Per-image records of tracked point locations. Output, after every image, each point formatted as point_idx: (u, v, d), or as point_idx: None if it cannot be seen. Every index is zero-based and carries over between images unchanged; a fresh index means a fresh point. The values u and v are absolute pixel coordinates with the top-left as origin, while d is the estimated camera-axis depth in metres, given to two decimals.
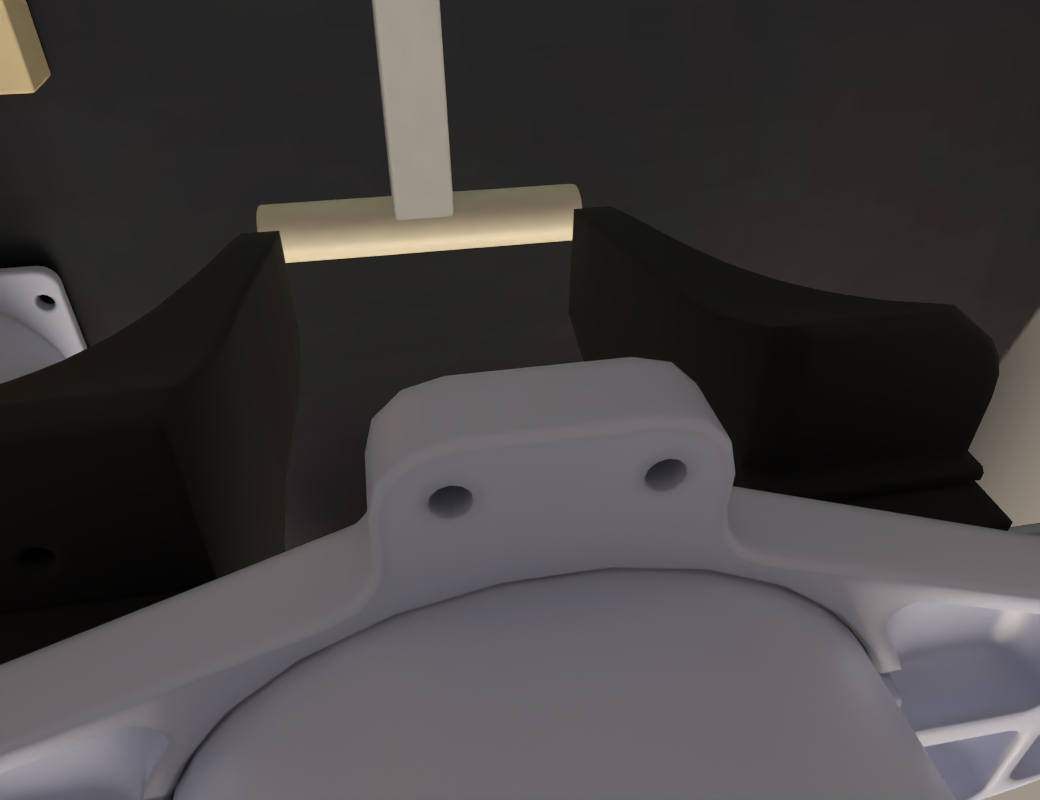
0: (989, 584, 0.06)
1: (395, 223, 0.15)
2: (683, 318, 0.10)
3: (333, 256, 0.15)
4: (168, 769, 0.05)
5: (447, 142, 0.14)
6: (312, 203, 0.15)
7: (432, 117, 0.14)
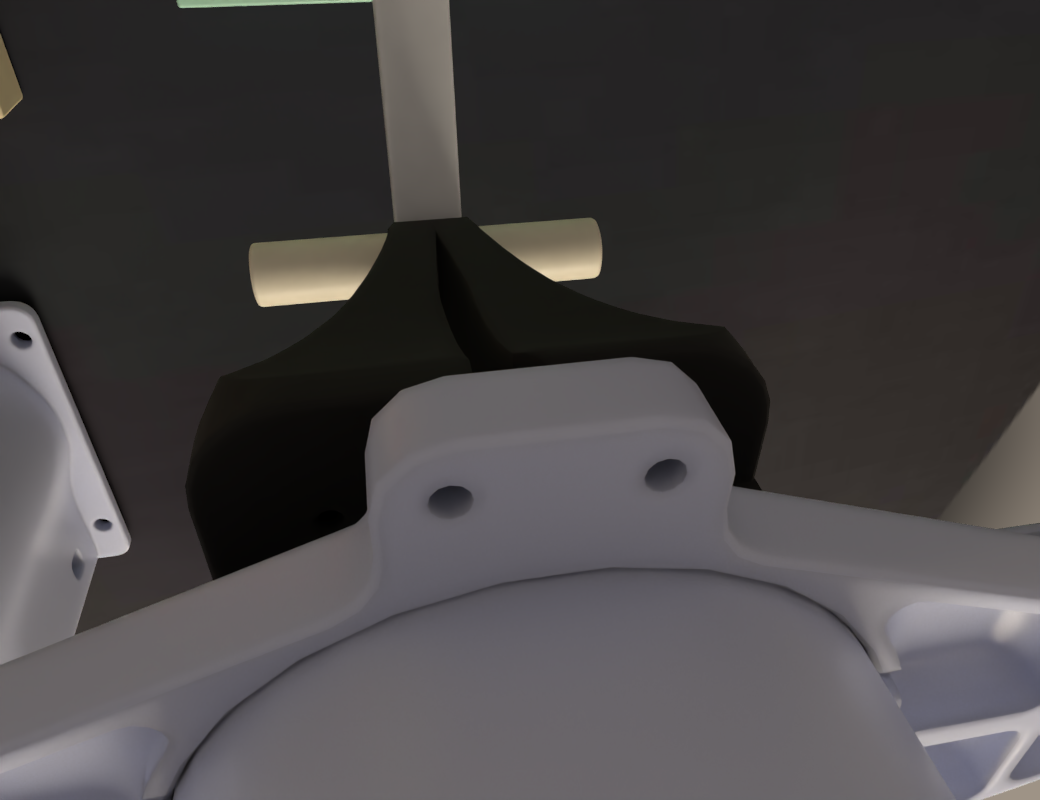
0: (989, 584, 0.06)
1: None
2: (482, 337, 0.09)
3: (332, 299, 0.14)
4: (168, 769, 0.05)
5: (457, 179, 0.13)
6: (309, 242, 0.14)
7: (441, 153, 0.13)
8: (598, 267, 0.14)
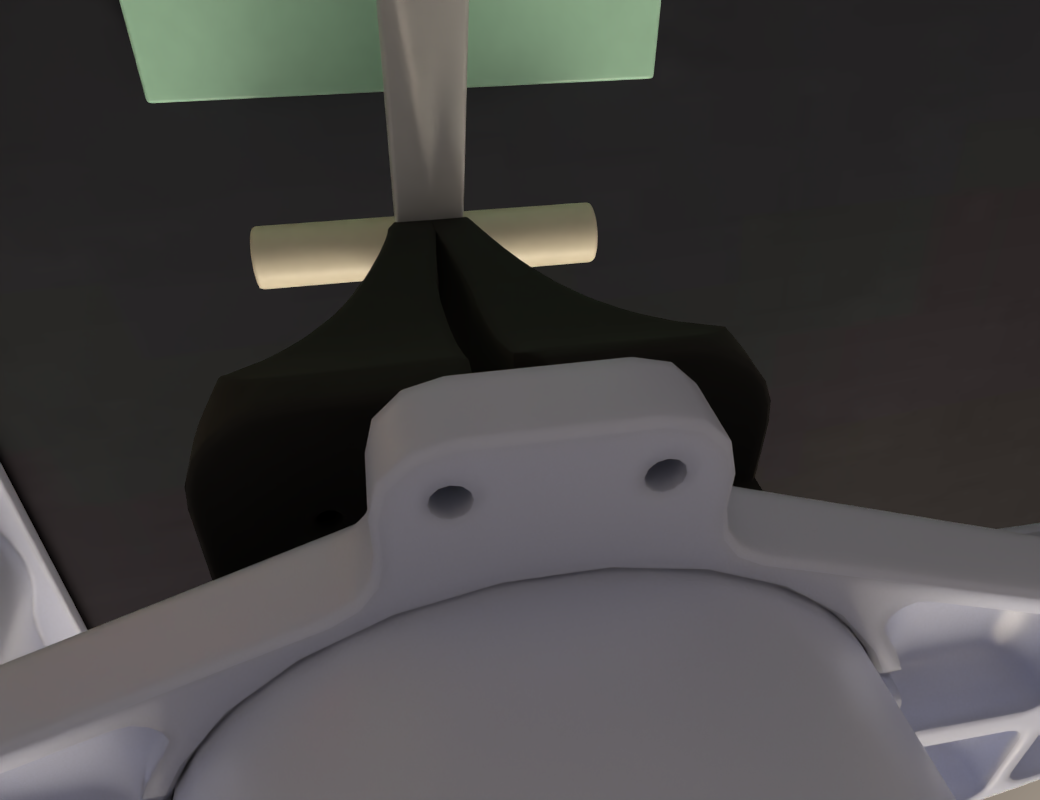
0: (989, 583, 0.06)
1: None
2: (483, 338, 0.09)
3: (333, 282, 0.14)
4: (166, 770, 0.05)
5: (462, 205, 0.13)
6: (310, 237, 0.14)
7: (447, 187, 0.12)
8: (591, 260, 0.15)
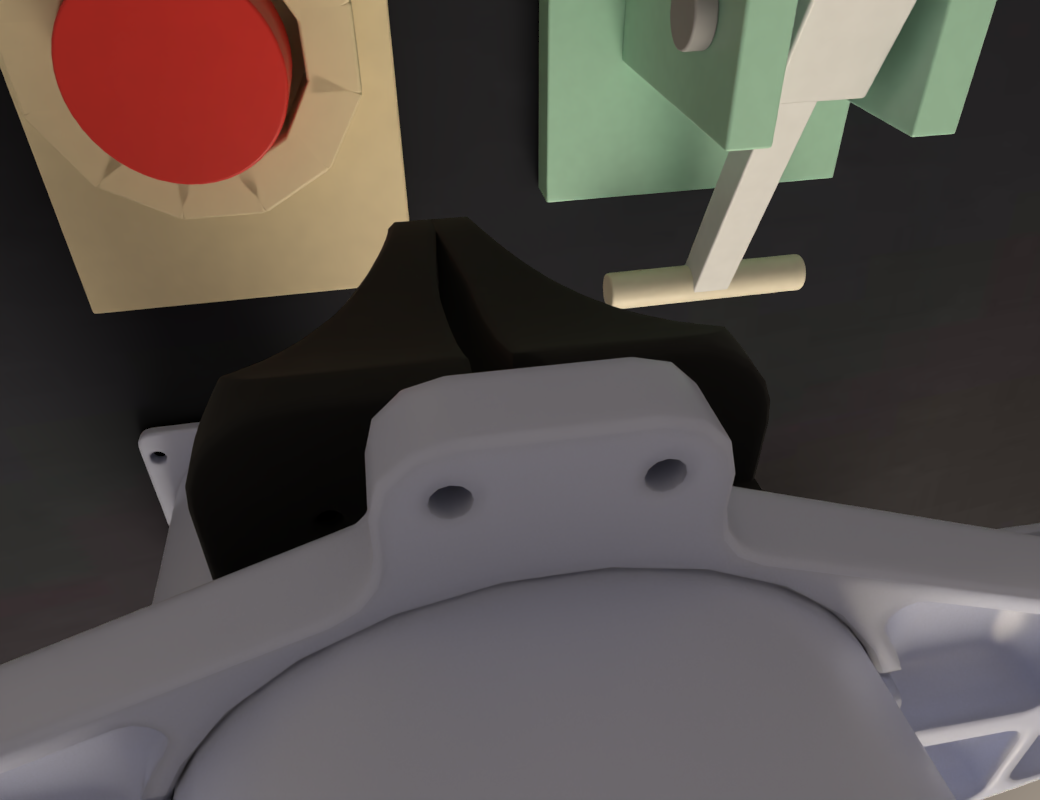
0: (989, 584, 0.06)
1: (691, 292, 0.24)
2: (483, 337, 0.09)
3: None
4: (168, 770, 0.05)
5: (741, 260, 0.23)
6: (644, 279, 0.23)
7: (737, 251, 0.22)
8: None
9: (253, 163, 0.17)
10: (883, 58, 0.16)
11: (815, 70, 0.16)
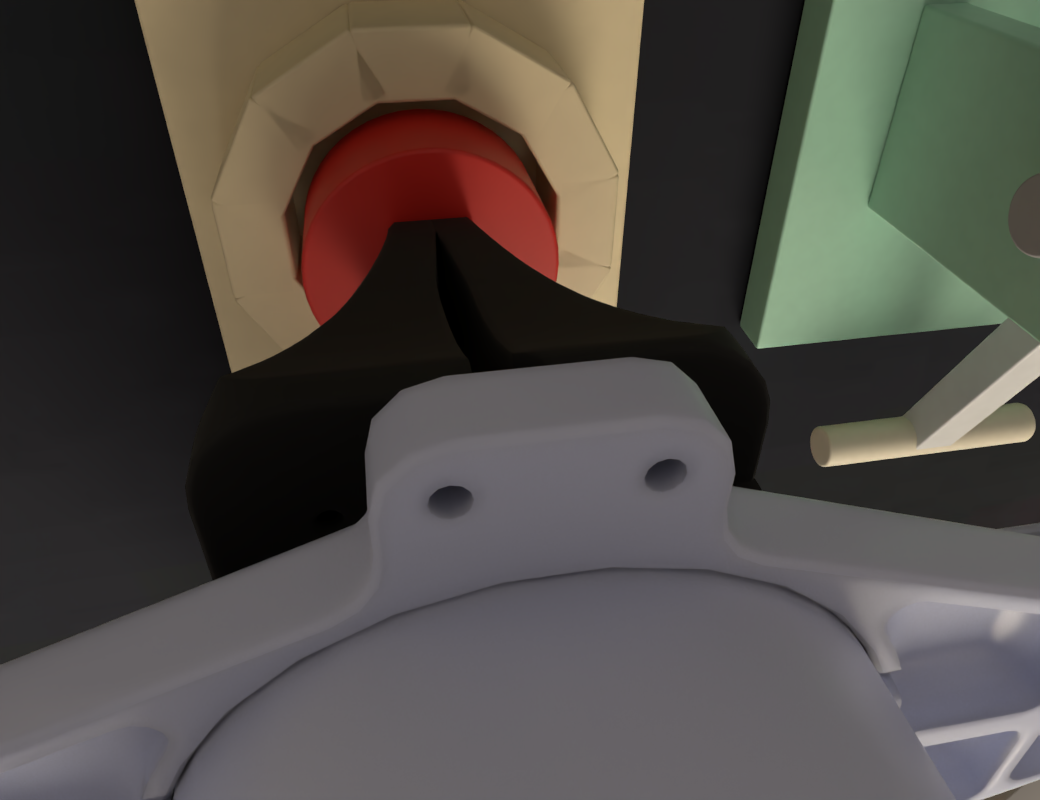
0: (989, 584, 0.06)
1: (912, 448, 0.21)
2: (483, 337, 0.09)
3: None
4: (167, 769, 0.05)
5: (980, 422, 0.20)
6: (864, 436, 0.21)
7: (981, 415, 0.20)
8: (1022, 441, 0.22)
9: None
10: None
11: None
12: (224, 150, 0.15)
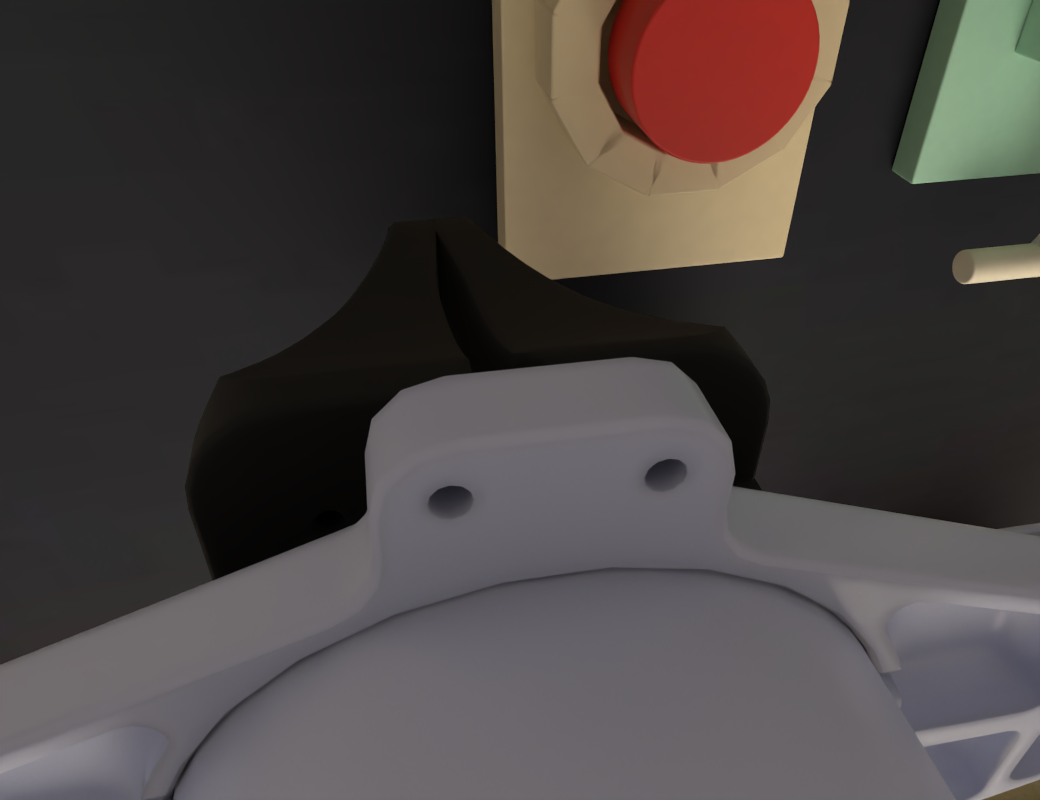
0: (989, 584, 0.06)
1: None
2: (482, 337, 0.09)
3: None
4: (168, 770, 0.05)
5: None
6: (1002, 255, 0.25)
7: None
8: None
9: (761, 144, 0.19)
10: None
11: None
12: None
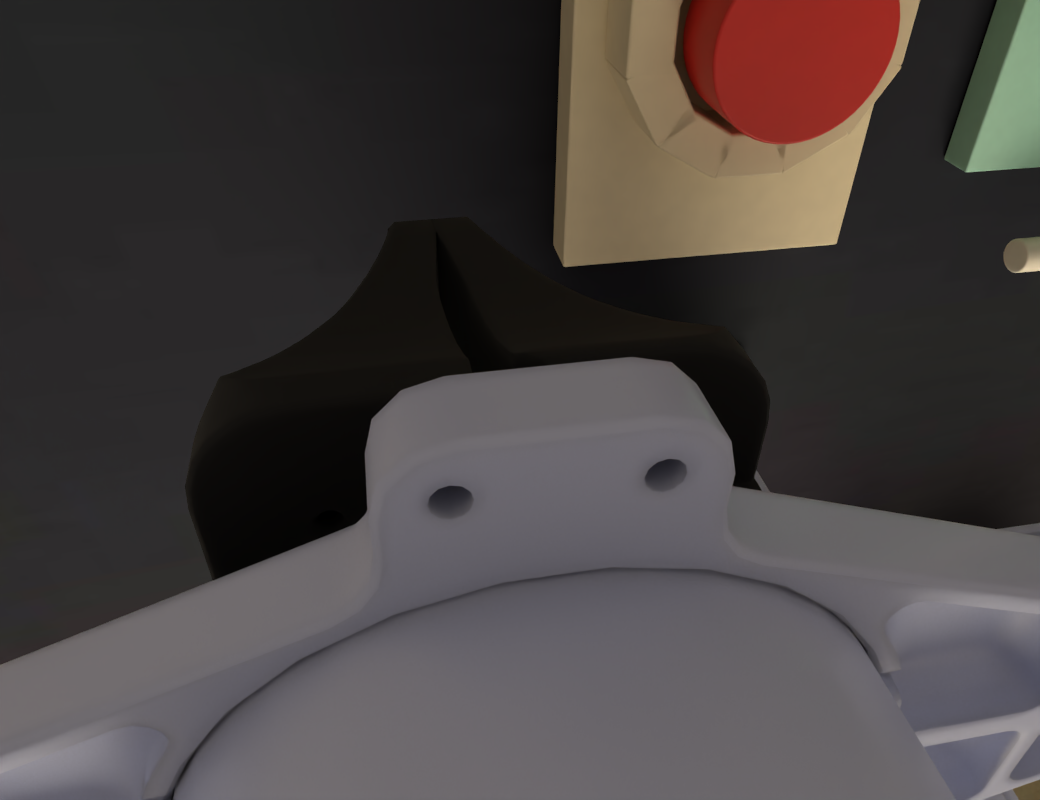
0: (989, 584, 0.06)
1: None
2: (482, 337, 0.09)
3: None
4: (166, 770, 0.05)
5: None
6: None
7: None
8: None
9: (835, 126, 0.19)
10: None
11: None
12: None
